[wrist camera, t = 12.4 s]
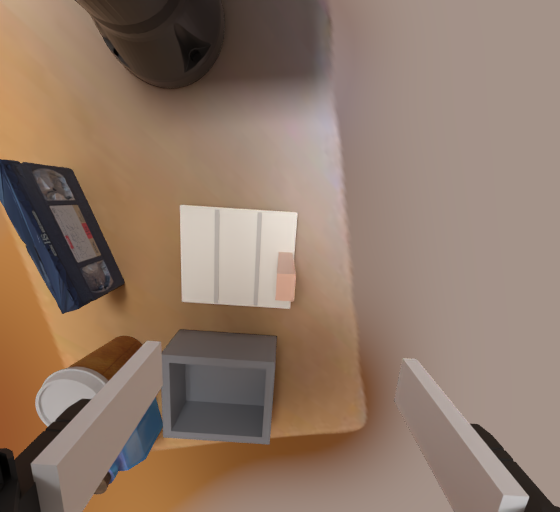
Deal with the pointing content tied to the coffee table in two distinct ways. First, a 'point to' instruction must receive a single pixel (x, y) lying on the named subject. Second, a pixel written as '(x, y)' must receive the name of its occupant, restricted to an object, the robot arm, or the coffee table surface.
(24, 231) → the vhs cassette tape
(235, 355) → the tub
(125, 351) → the disposable coffee cup
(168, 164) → the coffee table surface
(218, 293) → the lid
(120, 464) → the perfume bottle
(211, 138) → the coffee table surface
